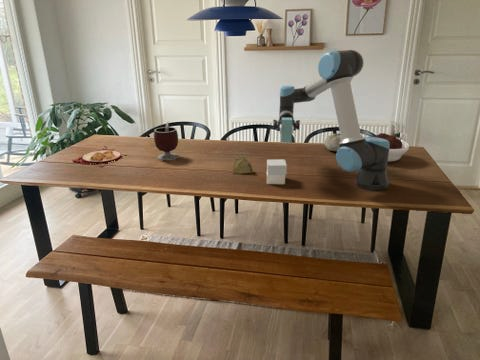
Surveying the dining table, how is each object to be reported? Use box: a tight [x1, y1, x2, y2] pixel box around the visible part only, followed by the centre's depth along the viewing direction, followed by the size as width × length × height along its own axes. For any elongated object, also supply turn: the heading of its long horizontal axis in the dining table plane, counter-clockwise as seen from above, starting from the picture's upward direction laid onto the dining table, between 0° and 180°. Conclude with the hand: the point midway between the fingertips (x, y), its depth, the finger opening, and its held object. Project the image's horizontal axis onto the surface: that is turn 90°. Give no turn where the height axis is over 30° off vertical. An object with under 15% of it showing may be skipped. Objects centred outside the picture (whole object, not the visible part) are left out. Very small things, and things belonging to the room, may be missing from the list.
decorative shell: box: [323, 132, 341, 152], centre depth 236 cm, size 18×18×10 cm
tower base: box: [266, 172, 286, 185], centre depth 191 cm, size 9×9×5 cm
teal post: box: [280, 117, 293, 143], centre depth 183 cm, size 5×5×11 cm
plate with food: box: [72, 145, 122, 168], centre depth 229 cm, size 24×26×3 cm
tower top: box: [266, 159, 288, 176], centre depth 189 cm, size 9×9×5 cm
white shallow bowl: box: [371, 132, 410, 162], centre depth 218 cm, size 25×25×15 cm
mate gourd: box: [153, 121, 179, 161], centre depth 226 cm, size 16×14×20 cm
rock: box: [231, 153, 254, 175], centre depth 202 cm, size 11×9×10 cm
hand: (286, 130), depth 178 cm, fingers closed on teal post, 5 cm apart
